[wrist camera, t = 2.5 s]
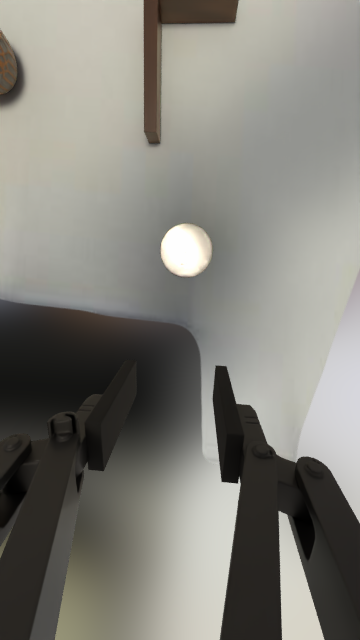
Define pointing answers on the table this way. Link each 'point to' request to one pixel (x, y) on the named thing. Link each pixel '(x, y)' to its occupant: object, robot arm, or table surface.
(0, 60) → the vase
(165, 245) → the green soda can
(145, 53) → the corner
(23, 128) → the table surface
